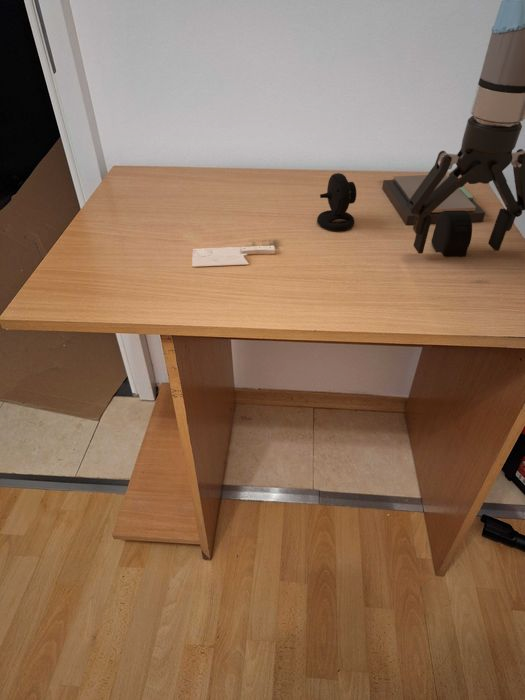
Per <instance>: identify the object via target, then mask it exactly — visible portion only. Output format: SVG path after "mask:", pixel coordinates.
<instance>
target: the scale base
mask: <svg viewBox="0 0 525 700" xmlns="http://www.w3.org/2000/svg"><path fill="white" fill-rule="evenodd" d="M381 189H382V190H383V193H384V194H385V195H386V197H387V198H388V200H389V201H390V203H391V205H392V207H394V209H395V210H396V212H397V214H398V216H400V218H401V220H402V221H403V223H404V224H405V226H413V225H414V221H415V217H416V214H412V213H411V212H410V210H409V209H408V207H407V203H408V200H407V199H406V197H405V196H404V194H403V193H402V192H401V190H400V189H399V187H398V186H397V185H396V183H395V182H394V180H393V179H383V181H382V188H381ZM459 190H460V191H461V192H462V193H463V194H464V195H465V196H466V197H467V198H468V199H469V200H470V201H471V202H472V203H473V204H474V206H475V207H476V210H475V211H467V212H468V213H469V214H470V217H471V221H472V223H482V222H484V219H485V215H486V211H484V210H483V209H482V207H481V206H480V205H479V204H478V203H477V202H476V201H475V200H474V196H473V195H472V194H471V193H470V192H469V191H468V190H467V188H466V187H465V186H463V187H461V188H459ZM440 213H441V212H437V213H430V214H429V215H430V217H431V218H432V219H431V223H430V225H436V222H437V219H438V217H439V215H440Z"/></svg>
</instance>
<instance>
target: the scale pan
mask: <svg viewBox="0 0 525 700" xmlns="http://www.w3.org/2000/svg"><path fill="white" fill-rule="evenodd" d="M427 175H428V174H423V175H394V176H393V177H392V180H394V182H395V183H396V185H397V186H398V187H399V189H400V190H401V192H402V193H403V194H404V196H405V197H406V199H407V200H408V201H409V200H410V198H411V197H412V196H413V194H414V193H415V192H416V190H417V189H418V187H419V186H420V185H421V183H422V182H423V180H424V179H425V178H426V176H427ZM448 177H449V176H447V174H446V175H445V176H444V178H443V179H442V180H441V182H440V183H439V184H438V186H439V185H440V184H442V183H443V182H444V181H445V180H446V179H447V178H448ZM438 186H437V187H438ZM437 187H436V188H437ZM436 188H435V189H436ZM456 210H464V211H475V210H476V207H475V206H474V204H473V203H472V202H471V201H470V200H469V199H468V198H467V197H466V196H465V195H464V194H463V193H462V192H461V191H460V190H459V188H458V189H457V190H456V191H454V192H453V193H452V194H451V195H450V196H449V197H448V198H447V199H446V200H444V201H443V202H442V203H441V204H440V205H439V206H438V207H437V208H436V209H434V210H433V211H432V212H431V213H437V212H443V211H456Z"/></svg>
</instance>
